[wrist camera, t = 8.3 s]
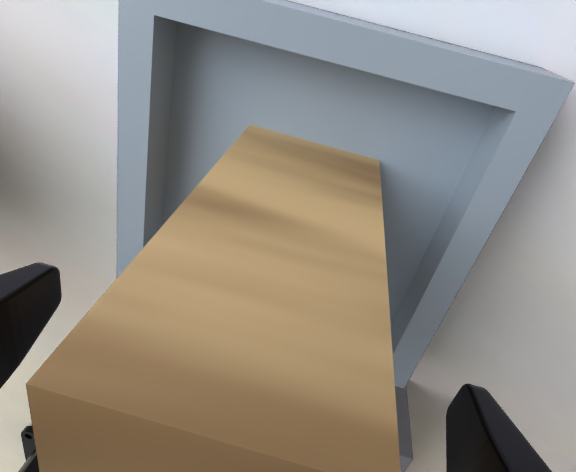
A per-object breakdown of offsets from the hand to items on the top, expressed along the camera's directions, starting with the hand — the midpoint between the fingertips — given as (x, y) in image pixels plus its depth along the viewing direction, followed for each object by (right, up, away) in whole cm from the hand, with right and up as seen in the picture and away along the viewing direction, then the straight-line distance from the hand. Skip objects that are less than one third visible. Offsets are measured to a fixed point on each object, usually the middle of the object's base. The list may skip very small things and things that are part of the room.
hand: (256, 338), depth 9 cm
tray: (+1, +4, +7) cm, 8 cm away
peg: (+1, +4, +6) cm, 7 cm away
